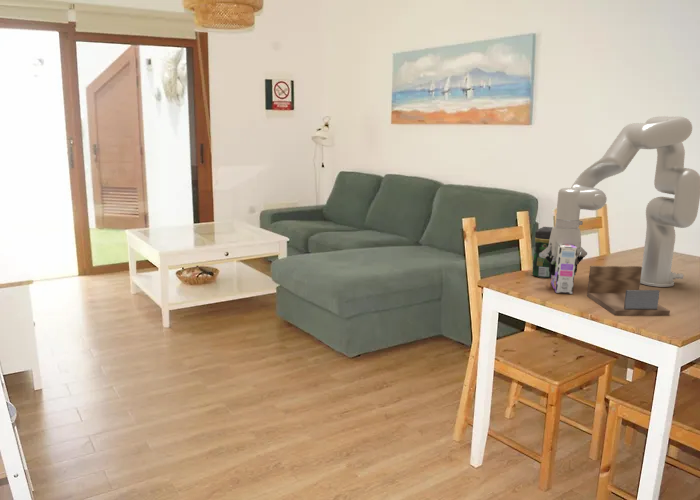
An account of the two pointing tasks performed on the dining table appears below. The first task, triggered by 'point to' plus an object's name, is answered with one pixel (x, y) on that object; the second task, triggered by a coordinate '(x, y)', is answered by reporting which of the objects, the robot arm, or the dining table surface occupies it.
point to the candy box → (564, 269)
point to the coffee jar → (539, 260)
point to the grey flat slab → (641, 299)
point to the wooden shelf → (617, 288)
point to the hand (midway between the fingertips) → (562, 274)
